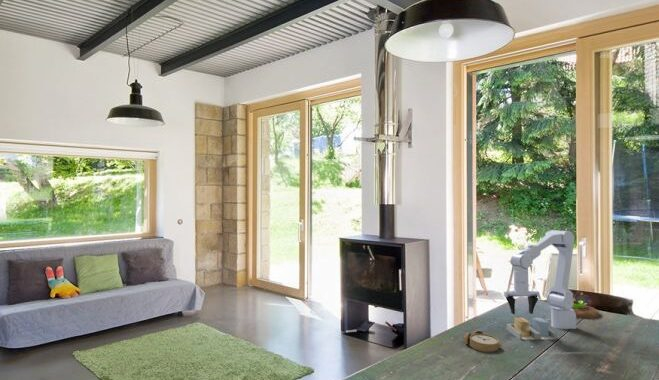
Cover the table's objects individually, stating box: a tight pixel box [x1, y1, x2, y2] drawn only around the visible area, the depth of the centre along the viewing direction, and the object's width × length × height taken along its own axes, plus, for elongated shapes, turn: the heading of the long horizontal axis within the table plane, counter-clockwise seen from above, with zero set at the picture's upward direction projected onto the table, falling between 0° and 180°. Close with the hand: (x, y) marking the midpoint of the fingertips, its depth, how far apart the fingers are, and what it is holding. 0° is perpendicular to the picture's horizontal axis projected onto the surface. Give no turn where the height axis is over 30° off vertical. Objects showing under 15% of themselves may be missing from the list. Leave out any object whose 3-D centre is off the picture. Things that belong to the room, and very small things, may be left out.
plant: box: [571, 291, 600, 319], centre depth 218 cm, size 20×20×11 cm
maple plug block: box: [513, 317, 530, 337], centre depth 184 cm, size 4×7×6 cm, turn 178°
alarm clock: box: [462, 330, 503, 353], centre depth 173 cm, size 11×5×15 cm
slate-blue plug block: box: [531, 317, 550, 337], centre depth 183 cm, size 4×7×6 cm, turn 178°
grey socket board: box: [506, 323, 558, 340], centre depth 184 cm, size 15×14×3 cm
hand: (521, 313), depth 185 cm, fingers open, 7 cm apart
